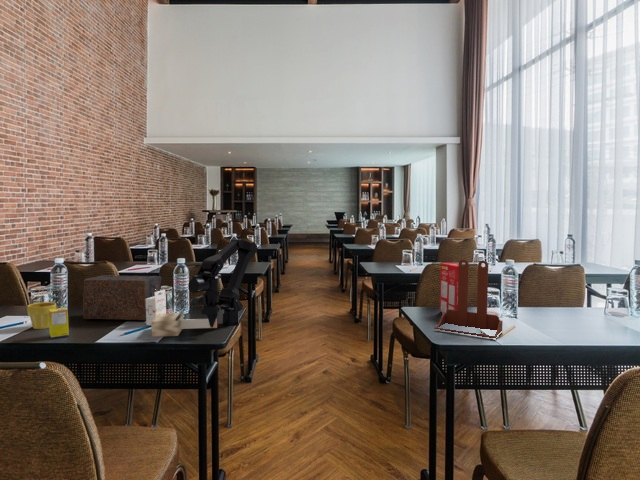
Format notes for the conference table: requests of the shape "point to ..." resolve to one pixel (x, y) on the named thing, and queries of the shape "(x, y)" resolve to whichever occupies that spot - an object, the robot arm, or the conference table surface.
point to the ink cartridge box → (155, 306)
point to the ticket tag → (196, 323)
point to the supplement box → (58, 323)
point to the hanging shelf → (461, 315)
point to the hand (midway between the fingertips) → (211, 326)
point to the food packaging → (449, 287)
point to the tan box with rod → (167, 324)
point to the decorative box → (118, 296)
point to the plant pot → (40, 314)
